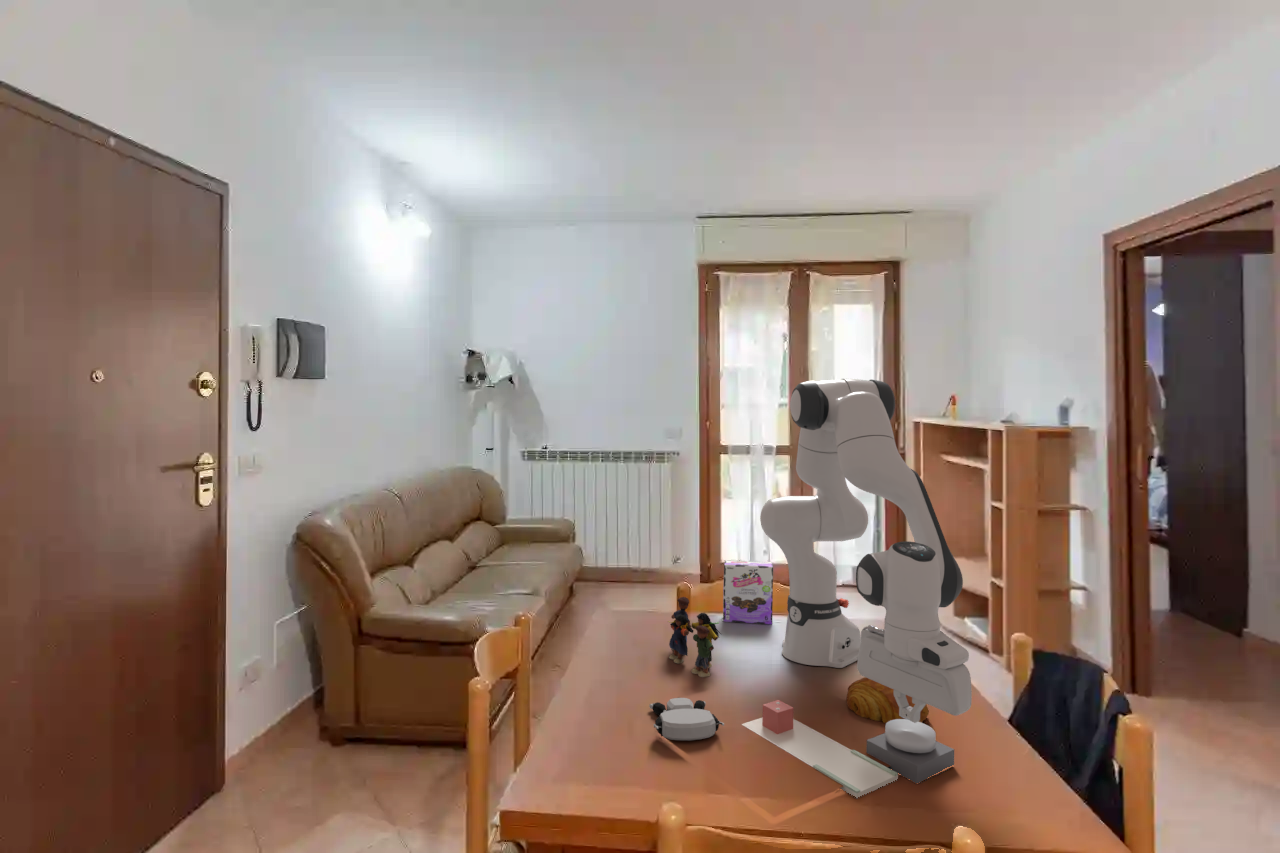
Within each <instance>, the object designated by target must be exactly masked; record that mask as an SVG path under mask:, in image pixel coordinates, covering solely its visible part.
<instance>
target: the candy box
mask: <svg viewBox="0 0 1280 853" xmlns="http://www.w3.org/2000/svg"><path fill="white" fill-rule="evenodd" d="M773 579H774V563H773V562H770V561H769V562H766V561H747V560H746V561H745V560H744V561H743V560H741V561H740V560H739V561H738V560H727V559H725V560H724V564H723V588H722V591H723V592H722V596H723V597H722V613H723V614H722V620H723V621H722V622H723V623H724V622H726V623H743V624H756V625H757V624H758V625H759V624H760V625H772V624H773V603H774V601H773V597H774V595H773V594H774V593H773V592H774V590H773V589H774V588H773V587H774V586H773V585H774V580H773Z"/></svg>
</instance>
